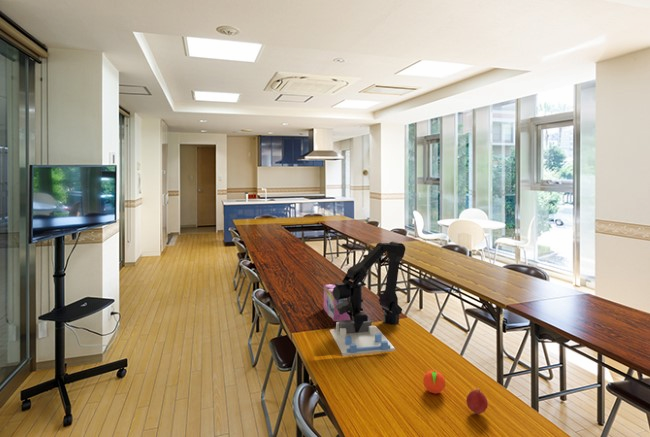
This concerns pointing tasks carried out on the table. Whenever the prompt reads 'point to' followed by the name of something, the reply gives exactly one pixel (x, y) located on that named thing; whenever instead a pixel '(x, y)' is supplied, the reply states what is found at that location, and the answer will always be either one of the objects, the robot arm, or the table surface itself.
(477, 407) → the onion
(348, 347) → the board
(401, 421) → the table surface
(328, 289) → the pink drink multipack
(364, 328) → the long grey block
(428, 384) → the clementine
